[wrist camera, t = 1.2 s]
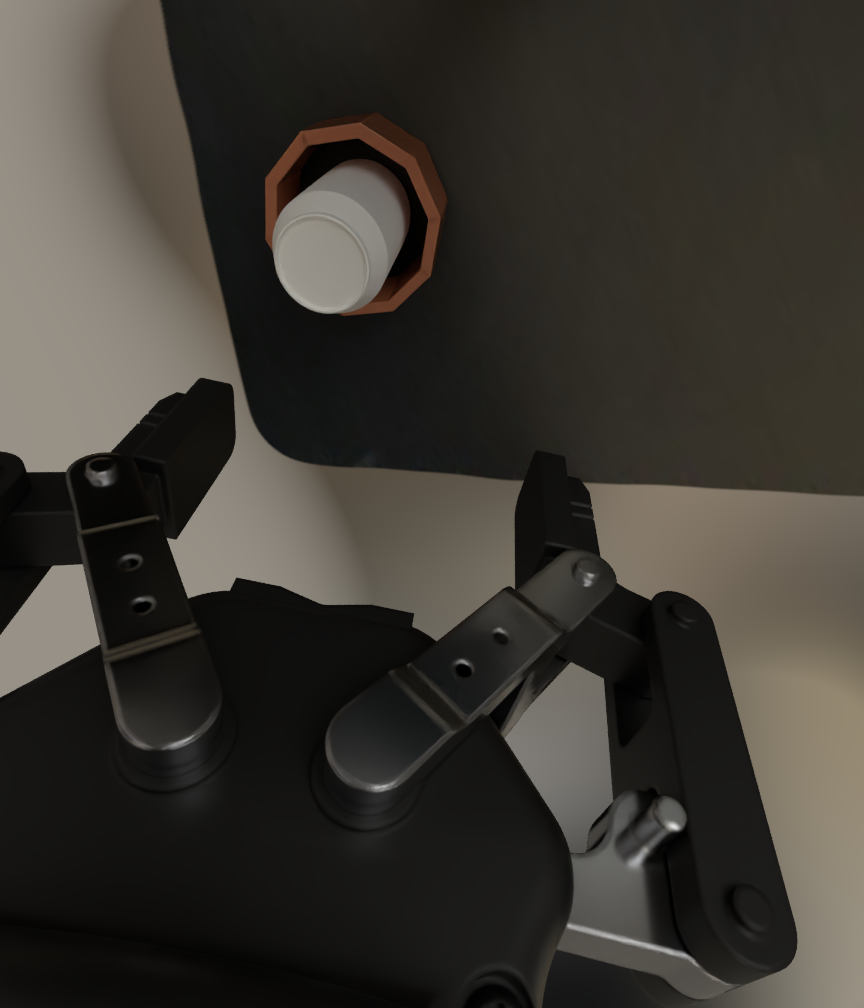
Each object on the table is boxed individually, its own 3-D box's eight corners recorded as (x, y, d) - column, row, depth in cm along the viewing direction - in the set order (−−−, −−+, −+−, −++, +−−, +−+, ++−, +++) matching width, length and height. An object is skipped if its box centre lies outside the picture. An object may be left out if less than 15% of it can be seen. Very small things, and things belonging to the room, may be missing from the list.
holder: (265, 128, 36) (236, 140, 32) (437, 102, 34) (428, 111, 30) (309, 295, 42) (289, 321, 39) (456, 280, 41) (450, 306, 37)
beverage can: (415, 257, 40) (387, 326, 31) (328, 258, 41) (275, 325, 31) (409, 154, 36) (375, 197, 27) (313, 156, 37) (247, 199, 27)
